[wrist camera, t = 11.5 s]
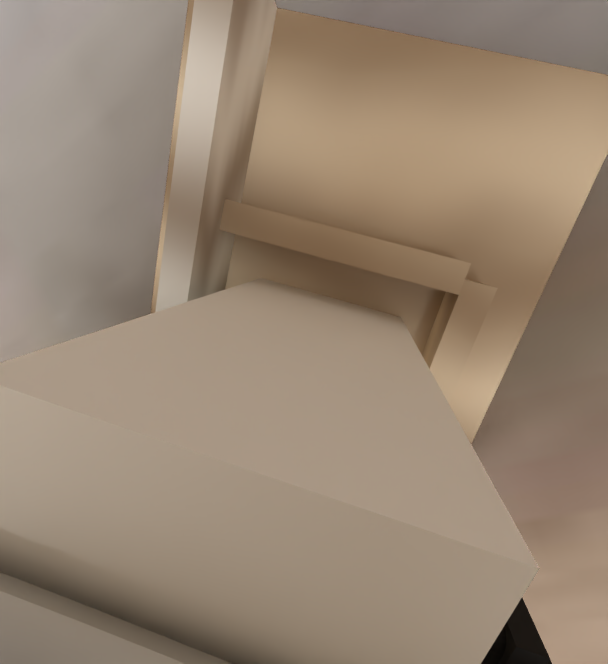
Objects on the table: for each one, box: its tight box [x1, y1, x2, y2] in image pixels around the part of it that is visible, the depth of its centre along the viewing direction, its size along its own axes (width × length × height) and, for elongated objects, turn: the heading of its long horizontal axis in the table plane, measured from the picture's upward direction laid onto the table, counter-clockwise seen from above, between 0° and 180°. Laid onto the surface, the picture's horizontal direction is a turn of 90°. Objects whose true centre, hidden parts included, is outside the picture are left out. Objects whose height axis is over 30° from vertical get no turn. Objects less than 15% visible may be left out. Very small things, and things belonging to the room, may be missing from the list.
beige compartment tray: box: [150, 0, 608, 443], centre depth 13 cm, size 26×14×4 cm, turn 165°
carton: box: [0, 278, 540, 664], centre depth 9 cm, size 6×9×10 cm, turn 165°
